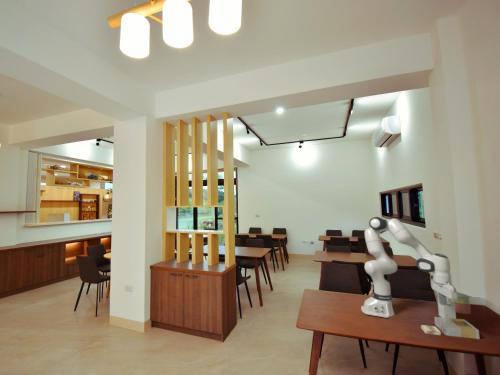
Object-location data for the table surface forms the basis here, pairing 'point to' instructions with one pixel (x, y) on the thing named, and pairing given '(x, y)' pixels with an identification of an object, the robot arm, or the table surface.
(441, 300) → the nut block
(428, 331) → the tab
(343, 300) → the table surface
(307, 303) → the table surface
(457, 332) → the grey yellow rectangular frame
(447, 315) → the supplement box
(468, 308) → the canned food
